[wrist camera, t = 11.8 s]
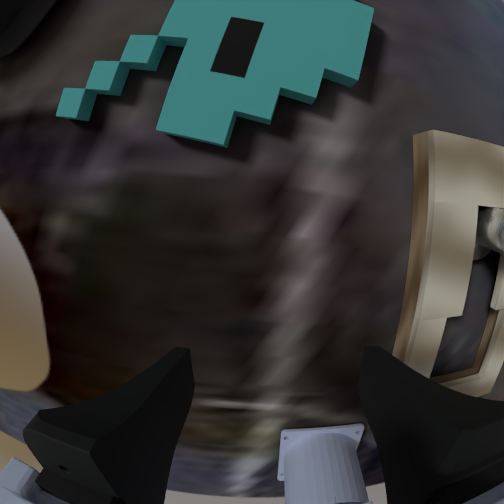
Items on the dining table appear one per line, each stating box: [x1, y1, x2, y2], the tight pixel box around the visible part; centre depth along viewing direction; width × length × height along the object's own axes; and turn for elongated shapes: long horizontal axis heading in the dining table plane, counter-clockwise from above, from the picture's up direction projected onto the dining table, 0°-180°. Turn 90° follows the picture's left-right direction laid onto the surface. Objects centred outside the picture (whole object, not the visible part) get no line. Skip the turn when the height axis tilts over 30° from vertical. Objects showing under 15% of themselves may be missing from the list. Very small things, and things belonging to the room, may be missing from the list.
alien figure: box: [56, 0, 374, 148], centre depth 15 cm, size 20×2×20 cm
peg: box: [473, 205, 504, 260], centre depth 15 cm, size 6×6×8 cm
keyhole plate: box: [392, 130, 504, 397], centre depth 18 cm, size 22×12×3 cm, turn 1°
